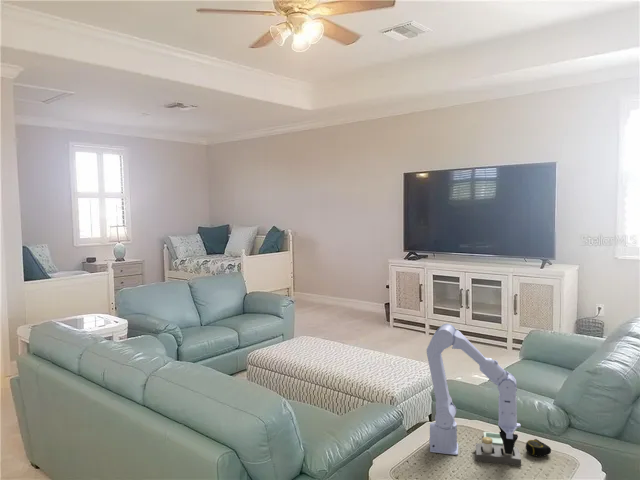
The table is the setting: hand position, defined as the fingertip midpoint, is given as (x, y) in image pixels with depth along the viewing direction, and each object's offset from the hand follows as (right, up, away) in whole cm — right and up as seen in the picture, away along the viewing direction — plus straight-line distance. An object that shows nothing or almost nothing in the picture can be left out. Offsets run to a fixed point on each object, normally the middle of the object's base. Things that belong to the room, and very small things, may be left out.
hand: (507, 449), depth 163 cm
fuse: (-6, -3, +2) cm, 7 cm away
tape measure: (+12, -3, +3) cm, 12 cm away
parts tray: (+1, -2, +11) cm, 12 cm away
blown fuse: (0, -3, 0) cm, 3 cm away
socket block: (-3, -3, +1) cm, 4 cm away
